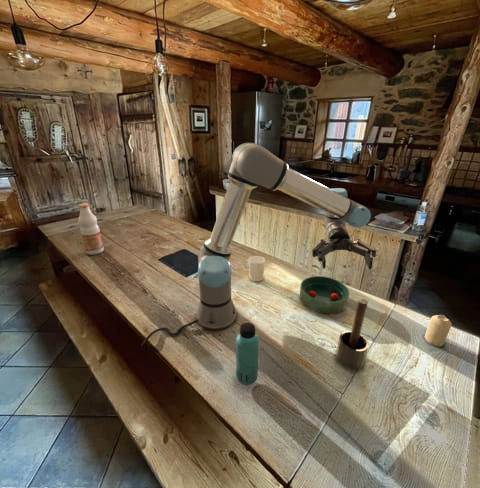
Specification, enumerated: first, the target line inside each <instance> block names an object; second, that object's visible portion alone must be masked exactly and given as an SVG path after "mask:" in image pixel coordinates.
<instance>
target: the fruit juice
mask: <svg viewBox="0 0 480 488" xmlns="http://www.w3.org/2000/svg"><path fill="white" fill-rule="evenodd" d="M78 208H79V209H80V211H79V216H78V218H77V222H78V224H79V226H80V228H79V230H80V235H81V239H82V243H83V246H84V250H85V254H87V255H91V256H93V255H98V254H101V253H103V252H104V250H105V247H104V242H103V239H102V234H101V233H102V232H101V230H100V226H99V225H98V218H97V216H96V215H95V214H94V213H93V212H92V211H91V208H90V204H89V203H87V202H85V203H80V204H79V205H78Z"/></svg>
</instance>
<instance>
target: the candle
mask: <svg viewBox="0 0 480 488" xmlns="http://www.w3.org/2000/svg"><path fill="white" fill-rule="evenodd" d="M452 325H453V324H452V322H451V320H450V319H448V318H447V316H445V315H444V314H438V315H437V314H435V315H433V316H431V318H430V321H429V324H428V326H427V329H426V332H425V334H424V340H425V341H426V342H427V343H428V344H429V345H432V346H435V347H443V346H444V344H445V342H446V339H447V337H448V336H449V332H450V330H451V327H452Z"/></svg>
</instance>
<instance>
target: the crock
mask: <svg viewBox="0 0 480 488" xmlns="http://www.w3.org/2000/svg"><path fill="white" fill-rule="evenodd" d="M351 332H352V330H346V331H345V330H344V331H343V332H341V333H340V334H339V338H338V341H337V342H338V343H337V348H336V352H335V357H336V360H337V361H338V363H340V364H341V365H342V366H344V368H347V369H349V370H360V369H362V368H363V367H364V365H365V362H366V357H367V353H368V350H369V347H370V343H369V340H368V339H367V338H366V336H364V335H363V334H361V333H360V337H359V341H358V345H357V349H353V348H350V347H348V345H349V341H350V336H351Z"/></svg>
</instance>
